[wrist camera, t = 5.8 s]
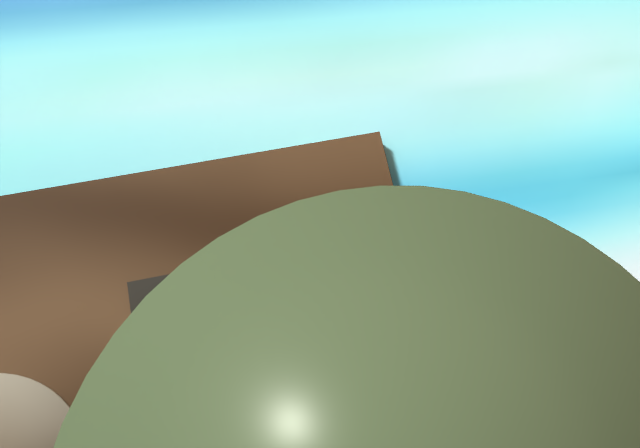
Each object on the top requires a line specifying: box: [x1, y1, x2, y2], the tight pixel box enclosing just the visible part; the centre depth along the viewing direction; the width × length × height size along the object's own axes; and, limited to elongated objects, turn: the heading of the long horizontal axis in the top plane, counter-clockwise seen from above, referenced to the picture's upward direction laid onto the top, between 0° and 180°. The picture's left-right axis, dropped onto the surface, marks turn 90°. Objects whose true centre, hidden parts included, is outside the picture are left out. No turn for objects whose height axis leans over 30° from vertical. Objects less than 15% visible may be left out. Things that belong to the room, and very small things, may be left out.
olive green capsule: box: [53, 186, 640, 448], centre depth 9 cm, size 4×4×12 cm
